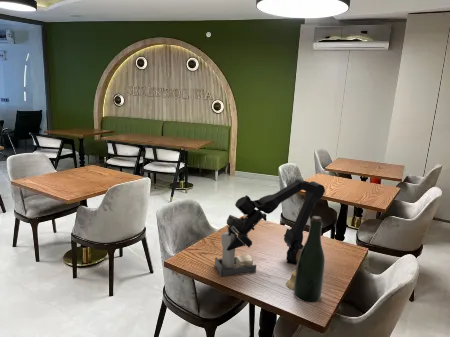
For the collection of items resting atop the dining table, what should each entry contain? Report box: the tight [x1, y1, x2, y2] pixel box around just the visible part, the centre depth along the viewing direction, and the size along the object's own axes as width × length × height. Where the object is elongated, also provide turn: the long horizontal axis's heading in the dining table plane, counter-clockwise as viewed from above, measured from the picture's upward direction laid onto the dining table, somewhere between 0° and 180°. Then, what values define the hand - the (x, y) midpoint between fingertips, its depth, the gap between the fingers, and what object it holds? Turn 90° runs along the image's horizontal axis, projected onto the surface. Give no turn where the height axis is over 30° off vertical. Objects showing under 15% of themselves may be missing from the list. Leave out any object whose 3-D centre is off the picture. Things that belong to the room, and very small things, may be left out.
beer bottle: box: [293, 215, 326, 303], centre depth 127 cm, size 10×10×33 cm
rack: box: [214, 256, 257, 277], centre depth 148 cm, size 16×9×4 cm, turn 108°
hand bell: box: [285, 249, 301, 291], centre depth 136 cm, size 8×8×16 cm
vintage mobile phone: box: [221, 217, 236, 269], centre depth 145 cm, size 4×5×25 cm
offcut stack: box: [235, 254, 254, 267], centre depth 149 cm, size 6×6×5 cm
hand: (225, 246), depth 144 cm, fingers closed on vintage mobile phone, 6 cm apart
